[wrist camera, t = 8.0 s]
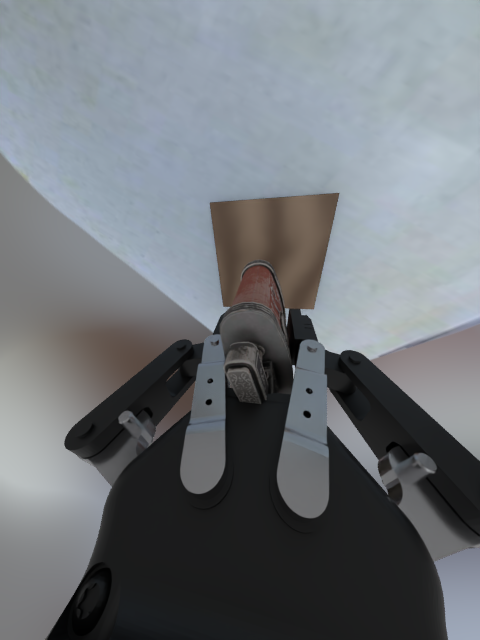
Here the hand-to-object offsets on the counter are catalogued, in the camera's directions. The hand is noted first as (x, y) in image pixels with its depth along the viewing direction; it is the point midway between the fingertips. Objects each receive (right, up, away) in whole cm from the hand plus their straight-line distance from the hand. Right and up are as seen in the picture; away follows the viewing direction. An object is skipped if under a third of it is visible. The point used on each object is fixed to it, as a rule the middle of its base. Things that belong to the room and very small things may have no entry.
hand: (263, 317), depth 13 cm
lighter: (0, +1, +2) cm, 2 cm away
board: (+3, +9, +13) cm, 16 cm away
